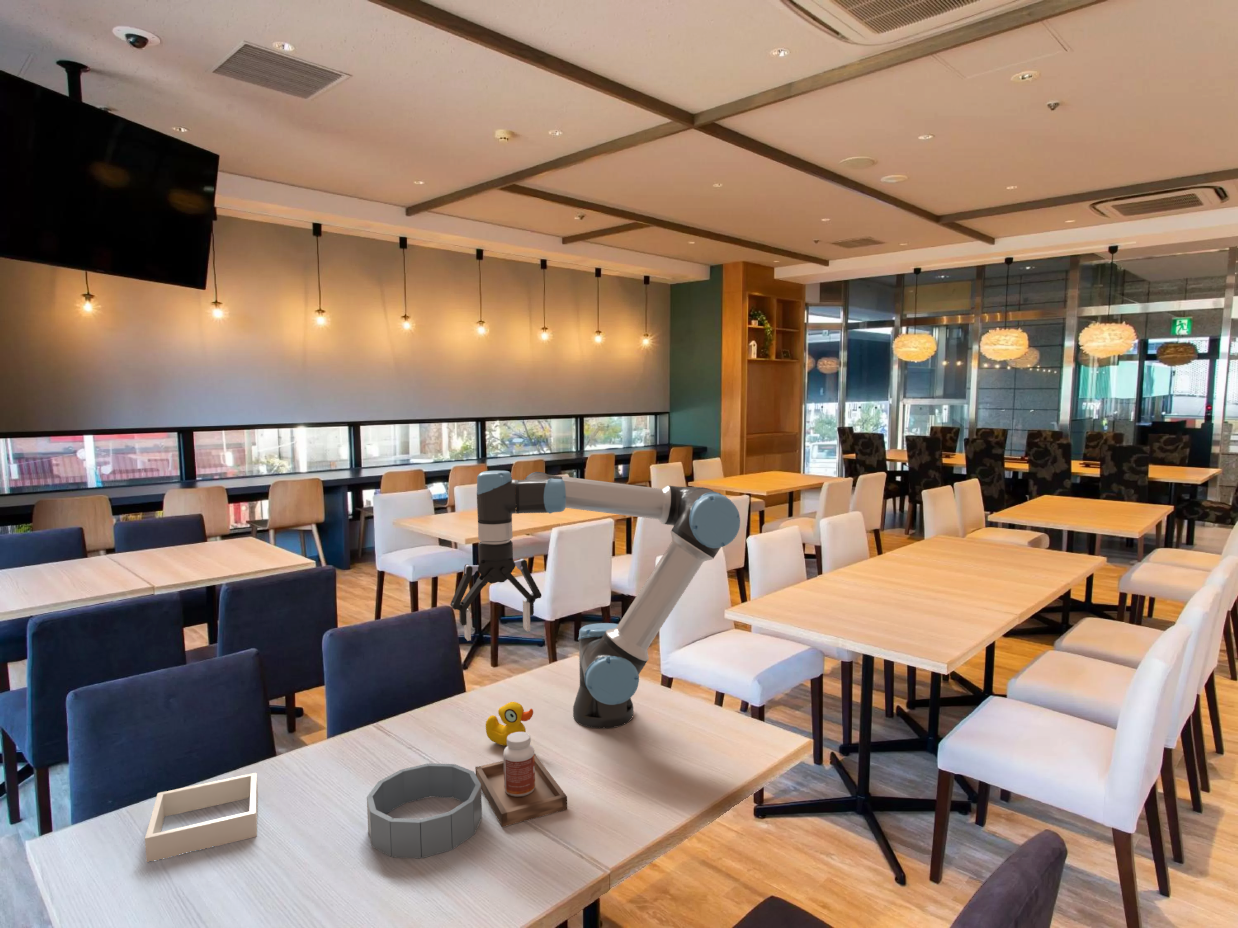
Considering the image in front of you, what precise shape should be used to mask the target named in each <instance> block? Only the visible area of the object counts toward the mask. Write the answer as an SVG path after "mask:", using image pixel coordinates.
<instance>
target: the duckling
mask: <svg viewBox="0 0 1238 928" xmlns="http://www.w3.org/2000/svg"><path fill="white" fill-rule="evenodd" d="M497 713H498V716H499V718H500V720H501V721H502V723H503V724H501V723H500V722H499V720H498V717H497V716H496V715H493V714H492V715H490V716H488V718H487V719H486V722H485V732H486V735H487V738H488V739H489V740H490V741H492V742H493V743H495V744H497V745H499V746H504V747H507V736H508V735H510V734H512V733H515V732H526V731H527V730H526V729H527V728H526V727H525V724H523V722H527V721H530V719H532V717H533V714H534V709H533V708H530V709H529V710H527V711H525V709H524V707H523V705H522V704H520V703H519V702H516V701H510V702H507V703H505V704H504V705H502V706H501V707H499V708H498V711H497ZM526 733H527V732H526Z"/></svg>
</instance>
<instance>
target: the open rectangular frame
mask: <svg viewBox="0 0 1238 928" xmlns="http://www.w3.org/2000/svg"><path fill="white" fill-rule="evenodd" d="M246 799H249V811H246V812H241V813H237V814H233V815H229V816H224V817H220V818H215V819H211V820H206V821H202V822H198V823H194V824H190V825H185V826H180V827H175V828H170V829H168V830H162V828H163V824H164V821H165V817H169V816H174V815H179V814H183V813H189V812H191V811H197V810H200V809H206V808H211V807H215V806H218V805H219V806H220V805H223V804H229V803H232V802H236V801H242V800H246ZM258 805H259V790H258V772H252V773H246V774H242V775H238V776H233V777H228V778H223V779H219V780H214V781H208V782H205V783H200V784H195V785H190V786H185V787H180V788H176V789H172V790H171V789H170V790H168V791H167V790H164V791H160V792H157V794H156V797H155V802H154V804H153V808H152V813H151V815H150V816H151V817H150V820H149V823H148V827H147V830H146V832H145V833H146V834H145V835H144V836H145V837H144V846H145V857H146V858H145V859H146V863H147V862H149V861H154V860H158V861H160V860H159V859H162V860H164V859H163V858H166V859H169V858H168V857H170V858H172V857H171V856H174V857H177V856H176V855H178V856H180V855H179V854H182V853H186V852H190V851H195V850H199V851H201V850H200V849H203V850H206V849H205V848H207V849H210V847H211V848H213V847H212V846H215V847H220V846H222V845H226V844H230V843H236V842H239V841H243V840H247V839H251V838H255V837H258V808H259V807H258ZM195 852H196V851H195ZM190 853H191V852H190ZM186 854H187V853H186ZM182 855H183V854H182ZM154 862H155V861H154ZM149 863H150V862H149Z"/></svg>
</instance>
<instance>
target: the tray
mask: <svg viewBox="0 0 1238 928" xmlns="http://www.w3.org/2000/svg"><path fill="white" fill-rule="evenodd" d="M534 757H535V789H534V790H533V792H531V793H530V794H528V795H526V796H522V797H515V796H511V795H508V794H507V793H506V792H505V788H504V760H499V761H497V762H492V763H487V764H484V765H478V766H475V774H476V776H477V778H478V780H479V782H480V783H481V792H482V793H483V796H485V798H486V801H487V802H488V804H489V806H490V807H491V809H492V811H493V813H494V815H495V817H496V819H497V821H498V822H499V824H500V826H501V827H502V828H504V827H507V826H511V825H515V824H519V823H523V822H526V821H530V820H534V819H537V818H541V817H544V816H548V815H552V814H555V813H559V812H563V811H566V810H568V796H567V794H566V793H565V792H564V790H563V789H562V788H561V787H560V785H559V784H558V782H557V781H556V779H554V778H553V775H552V774H551V773H550V772H549V771H548V769H547V768H546V766H545V765H544V764H543V762H542V761H541V760H540V759H539V757H538V756H537V755H536V753H535V752H534Z"/></svg>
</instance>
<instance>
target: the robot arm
mask: <svg viewBox="0 0 1238 928" xmlns="http://www.w3.org/2000/svg"><path fill="white" fill-rule="evenodd" d="M476 506H477V507H476V509H477V511H476V512H477V539H478V540H479V542H478V546H477V547H478V551H477V552H478V563H477V565H476V564H475V565H474V564H473V565H472V564H471V565H470V564H468V563H466V564H465V565H464V566H463V575H462V577H461V579H460V581H459V583H458V586H457V588H456V590H455V593H454V595H453V597H452V599H451V602H450V607H451V608H452V609H453V610H455V611H456V610H457V611H458V612H459V613H458V614H459V618H458V619H459V624H460V625H461V626H463V628H464V629H463V632H464V639H466V641H467V642H468V641H472V631H471V630H472V629H471V628H472V626H471V625H472V624H471V610H469V607H470V606H471V604H472V603H473V602H474V600H475V599H476V598H477V596H478V595H480V593H481V591H482V589H483V588H484V587H486V586H487V585H488V583H489V584H495V583H505V582H506V581H507V580H508V581H509V582H510V583H511V584H512V585H513V586H514V588H515V589H516V590H517V591H518V592H519V593H520V594H521V595H522V596H523V597H524V598H525V599H524V600H522V626H523V627H522V629H524V630H525V631H526V632H531V616H534V613H535V609H534V608H535V607H534V603H535V602H536V601H537V600H538V599H541V598H542V593H541V591H540V589H539V587H538V586H537V583H536V582H535V580H534V578H533V576H532V574H531V572H530V570H529V567H528V561H527V559H524V558H523V557H520V558H519V559H517V560H514V550H513V549H514V548H513V543H514V542H513V541H512V539H513V514H519V515H520V514H553V513H562V512H564V511H565V510H566V509H571V510H572V509H573V510H581V511H588V512H589V511H590V512H596V513H603V514H604V513H605V514H611V515H620V516H628V517H637V518H644V519H653V520H659V522H660V523H661V524H663V525H667V526H669V525H670V526H673V527H672V529H671V530H670V534H671V543H670V544H669V546H668V547H667V548H666V550H665V552H664V553H663V554H662V556H661V558H660V559H659V561H658V562H657V564H656V566H655V567H654V568H653V570H652V572H651V573H650V575H648V578H647V579H646V581H645V582H644V584H643V586H642V587H641V589H640V590H639V591H638V593H637V594H636V596H635V598H634V599H633V601H632V603H631V604H630V605H629V607H628V608H627V610H626V612H625V613H624V615H623V617H622V618H621V620H620V621H619V622H618V623H611V622H610V623H609V622H603V623H602V622H600V623H599V622H598V623H590V624H586V625H584V626H582V627H581V628H579V630H578V631H579V632H578V633H579V634H578V638H577V640H578V645H579V647H578V652H579V655H578V656H579V659H578V661H579V663H578V664H579V687H578V691H577V694H576V697H575V700H574V704H573V706H572V716H573V717H574V718H573V717H572V718H573V719H574V721H575V722H576V723H578V724H579V725H581V726H583V727H587V728H592V729H612V728H617V726H618V727H621V726H624V725H625V724H624V723H626V724H627V722H628V721H629V720H630V719H631V718H632V716H633V717H634V704H633V700H632V699H631V698H632V697H633V696H634V695H635V693H636V692H637V690H638V686H639V682H640V674H641V672H642V670H643V669H644V667H645V666H646V664H647V662H648V661H649V652H648V648H649V647H650V645H651V644H652V642H653V641H654V640H655V638H656V637H657V635H658V633H659V631H660V630H661V628H662V627H663V625H664V624H665V622H666V620H667V619H668V618H669V616H670V614H671V613H672V611H673V610H674V608H675V607H676V605H677V604H678V602H679V600H680V599H681V597H682V596H683V595H684V593H685V592H686V590H687V589H688V587H689V585H690V584H691V582H692V581H693V578H694V577H695V576H696V575H697V572H698V571H699V569H700V568H701V567H702V565H703V563H704V562H706V561H711V560H714V558H715V557H716V556H717V554H718V553H719V551H720V550H721V548H723V547H726V546H727V545H729V544H731V543H732V542H733V541H734V540H735V539H736V537H737V535H738V533H739V530H740V528H741V517H740V512H739V509H738V507H737V506H736V504H735V503H734V502H733V501H732V500H731V499H730V498H728V496H726V495H723V494H721V493H720V492H717V491H714V490H713V489H710V488H708V487H703V486H702V487H701V486H699V487H698V486H674V485H668V484H667V485H665V486H664V487H663V488H660V487H659V488H658V487H649V486H642V485H633V484H625V483H618V482H610V481H609V482H608V481H602V480H596V479H595V480H594V479H586V478H577V477H571V476H564V475H563V476H559V475H554V474H553V475H552V474H547V473H545V472H544V471H543V472H541V471H535V472H532V473H530V474H528V475H527V476H526V477H525V479H513V478H512V473H511V472H510V471H508V470H486V471H482V472H480V473H479V474H478V475H477V476H476ZM515 568H517V570H519V571H520V572H521V574H522V576H523V577H524V579H525V582H526V584H527V586H528V588H529V589H530V591H531V592H529V591H528V590H527V589H526V588H525V587H524V586H523V584H521V583H520V582H519V581H518V579H517V578H516V577H515V576H514V575H513V574H512V573H513V571H514V569H515ZM476 572H478V573H479V574H480V575H479V576H478V577H477V579H476V581H475V583H474V584H473V586H471V588H470V589H469V590H468V591H467V589H468V586H470V585H469V584H470V583H471V580H472V577H473V576H474V575H475V573H476ZM466 591H467V593H466ZM465 593H466V594H465ZM632 719H633V718H632ZM632 719H631V720H632ZM631 720H630V721H631ZM630 721H629V722H630ZM629 722H628V723H629ZM623 724H624V725H623Z"/></svg>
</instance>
